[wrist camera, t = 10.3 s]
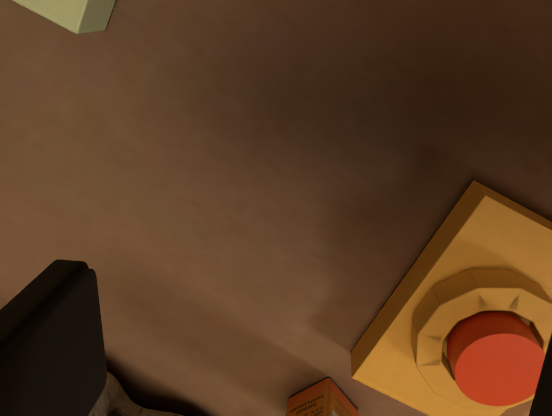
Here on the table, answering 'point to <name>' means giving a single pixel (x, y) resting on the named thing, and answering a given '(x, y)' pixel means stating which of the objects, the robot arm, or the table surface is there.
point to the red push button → (495, 358)
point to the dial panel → (73, 13)
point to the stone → (120, 403)
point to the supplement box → (321, 401)
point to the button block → (459, 301)
